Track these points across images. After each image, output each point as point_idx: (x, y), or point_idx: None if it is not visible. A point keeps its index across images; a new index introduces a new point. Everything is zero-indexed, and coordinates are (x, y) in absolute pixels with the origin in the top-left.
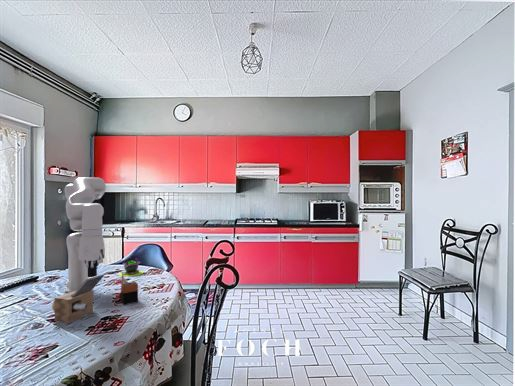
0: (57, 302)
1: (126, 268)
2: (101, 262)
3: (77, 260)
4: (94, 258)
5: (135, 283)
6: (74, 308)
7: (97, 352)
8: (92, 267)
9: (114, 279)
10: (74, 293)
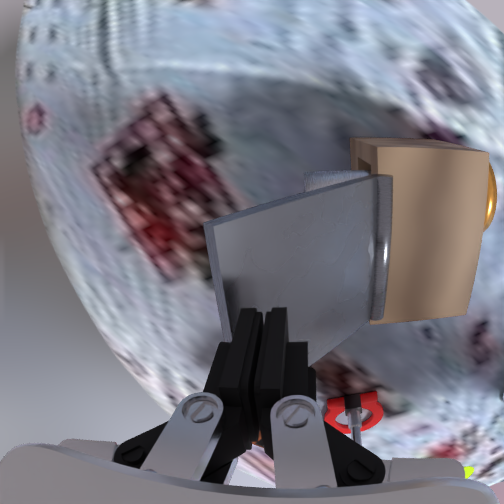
0: (456, 147)
1: None
2: (65, 446)
3: None
4: (10, 466)
5: (257, 442)
6: (355, 170)
7: (44, 56)
8: (190, 396)
9: (470, 452)
10: (364, 180)
